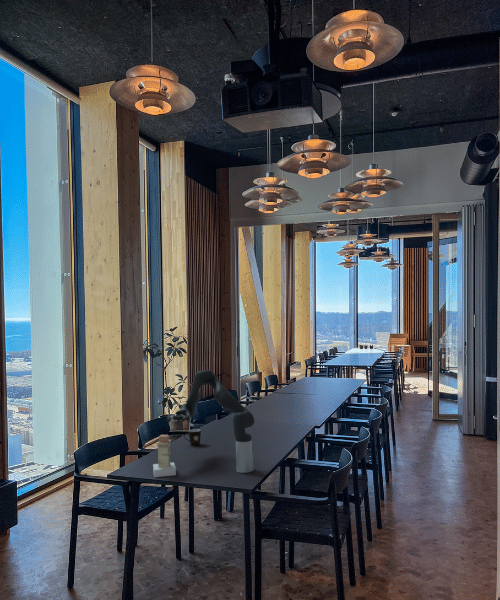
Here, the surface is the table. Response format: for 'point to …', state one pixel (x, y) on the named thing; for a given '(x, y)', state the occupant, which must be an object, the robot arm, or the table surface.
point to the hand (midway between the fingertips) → (175, 420)
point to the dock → (164, 470)
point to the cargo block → (163, 438)
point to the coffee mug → (194, 437)
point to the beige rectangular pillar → (164, 454)
